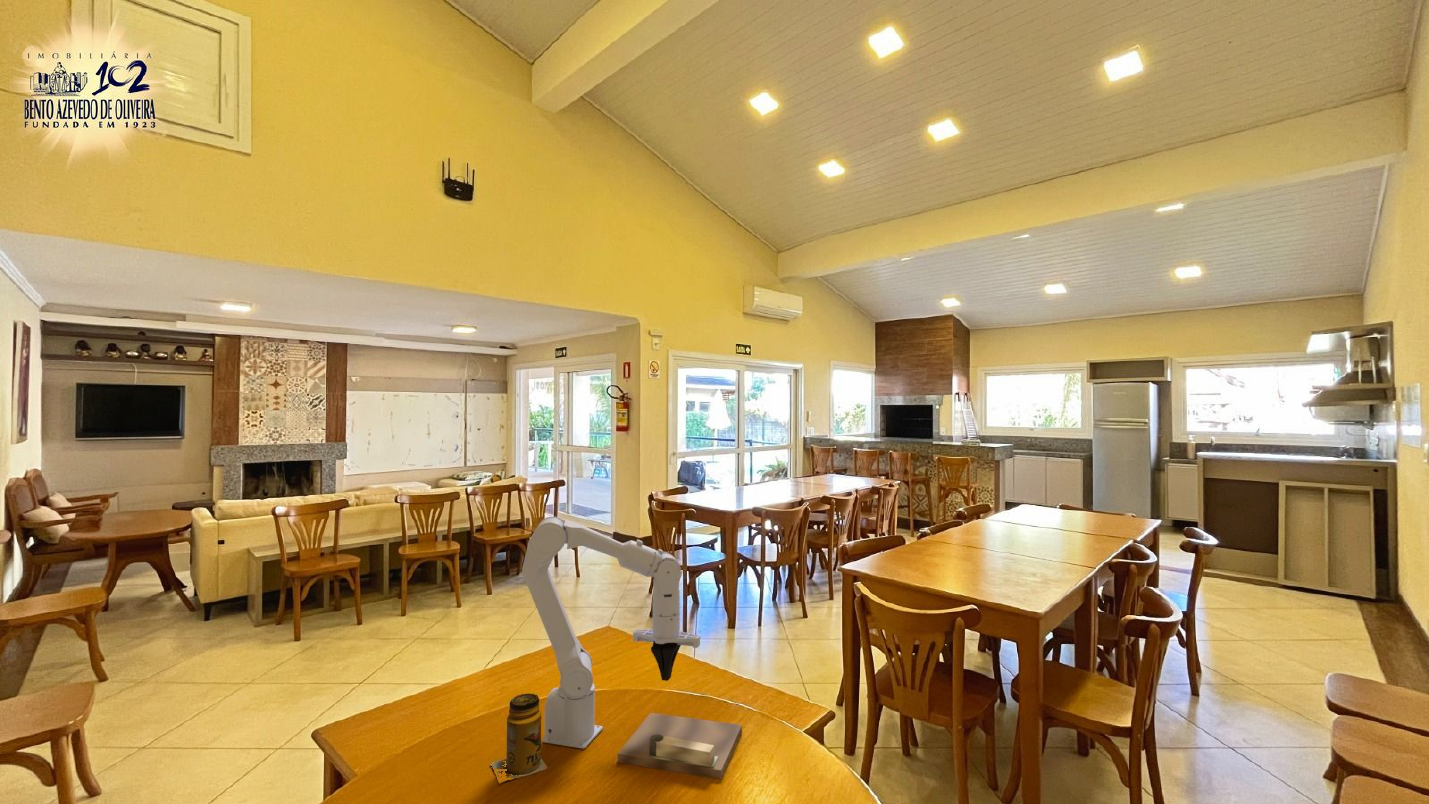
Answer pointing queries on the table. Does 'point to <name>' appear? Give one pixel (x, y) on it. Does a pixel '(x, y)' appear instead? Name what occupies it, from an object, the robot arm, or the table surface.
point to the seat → (686, 729)
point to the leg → (682, 750)
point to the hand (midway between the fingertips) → (666, 678)
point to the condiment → (523, 738)
